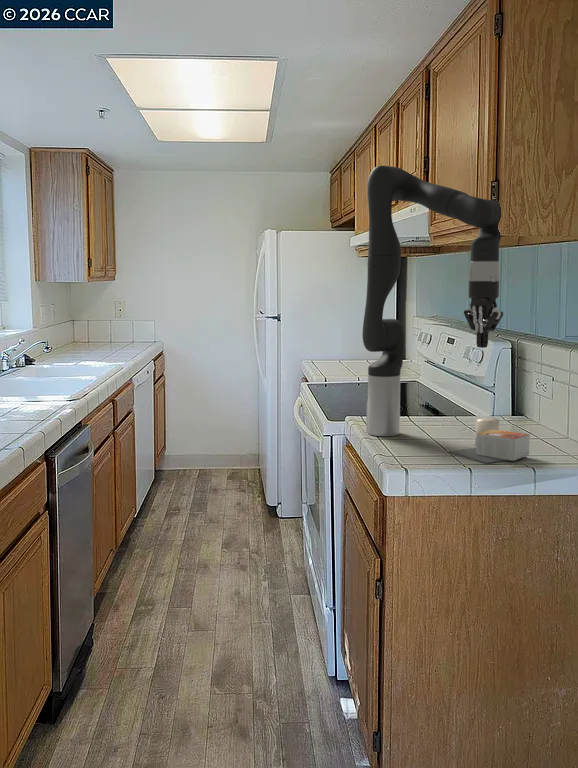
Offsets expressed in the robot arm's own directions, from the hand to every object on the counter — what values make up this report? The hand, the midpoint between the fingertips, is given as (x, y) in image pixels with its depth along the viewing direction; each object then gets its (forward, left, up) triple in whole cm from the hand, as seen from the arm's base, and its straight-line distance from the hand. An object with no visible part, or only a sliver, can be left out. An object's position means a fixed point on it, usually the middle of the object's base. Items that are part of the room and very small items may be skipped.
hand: (482, 347), depth 200 cm
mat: (+6, -3, -27) cm, 28 cm away
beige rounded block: (-4, +6, -27) cm, 28 cm away
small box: (+4, -2, -24) cm, 24 cm away
